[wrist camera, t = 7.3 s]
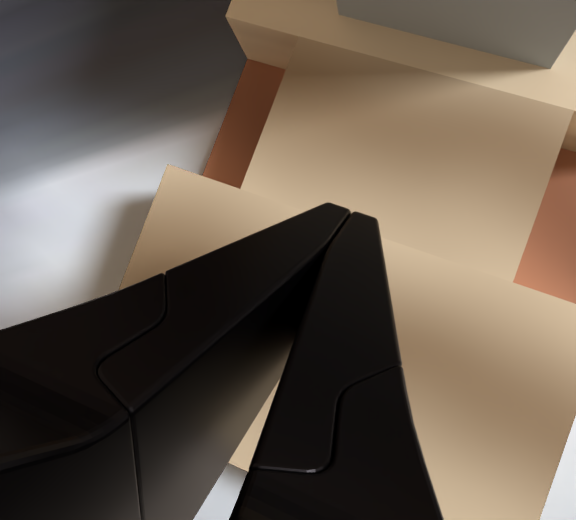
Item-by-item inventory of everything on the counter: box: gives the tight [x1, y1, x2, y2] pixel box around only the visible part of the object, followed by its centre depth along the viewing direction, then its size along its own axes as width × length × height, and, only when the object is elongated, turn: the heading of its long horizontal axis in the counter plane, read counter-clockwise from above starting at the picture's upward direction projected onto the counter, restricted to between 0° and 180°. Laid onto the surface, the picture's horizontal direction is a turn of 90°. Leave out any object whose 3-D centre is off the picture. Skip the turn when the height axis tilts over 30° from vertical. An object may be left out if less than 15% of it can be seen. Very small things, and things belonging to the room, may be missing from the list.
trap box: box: [119, 0, 576, 520], centre depth 11 cm, size 17×10×8 cm, turn 159°
